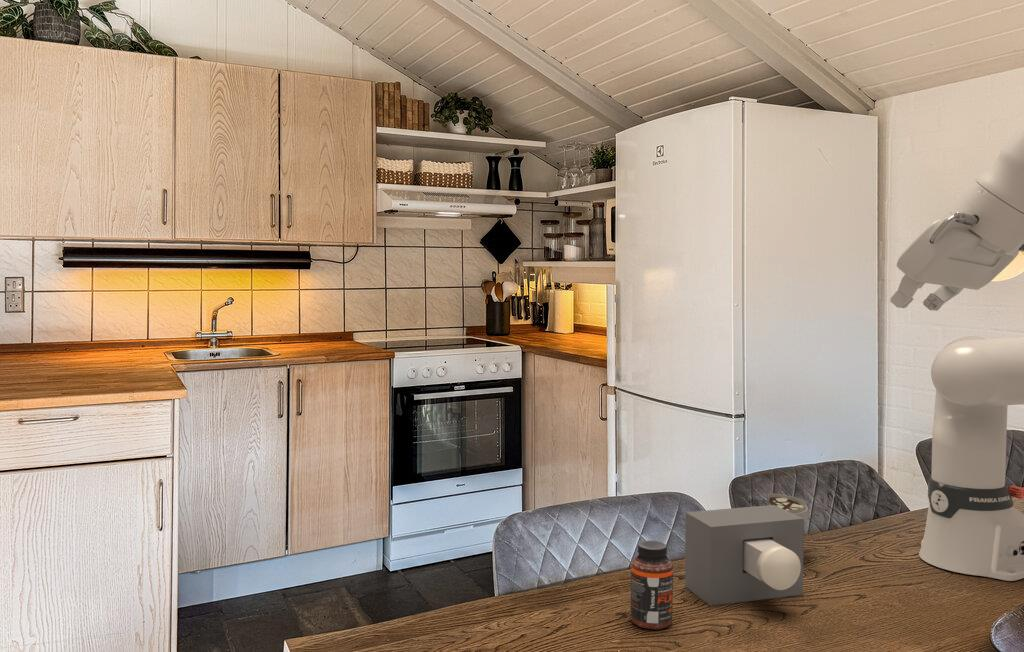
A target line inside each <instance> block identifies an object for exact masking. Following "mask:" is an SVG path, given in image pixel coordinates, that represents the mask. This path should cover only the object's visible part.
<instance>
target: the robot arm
mask: <svg viewBox="0 0 1024 652" xmlns="http://www.w3.org/2000/svg"><path fill="white" fill-rule="evenodd" d="M949 213H950V215H951V216H949V217H946V218H939V219H936V220H935V221H933V222H932V223H931V224H930V225H928V226H927V227H926V228H925V229H924V230H923V231H922V232H921V233H920V234H919V235H918V236H916V238H915V239H914V241H912V242H911V243H910V244H909V246H907V248H906V249H905V250H904V251H903V252H902V253H901V255H899V257H898V259H897V262H896V267H897V269H898V270H899V271H901V272H902V273H903V274H904V275H903V276H902V277H901V280H900V283H899V286H898V288H897V289H896V291H895V292H894V294H892V295H891V297H890V299H889V300H890V303H891V304H893V305H894V306H895V307H896V308H898V309H905V308H908V306H909V305H910V304H911V303H912V301H914V295H916V293H917V291H918V290H919V289H922V287H923V286H924V285H925V284H929V285H930V284H931V285H937V286H940V287H938V288H937V289H936V290H935V291H934V292H933V293H929V295H928V296H926V298H925V299H924V300H923V302H922V304H923V306H924V307H925V308H927V309H928V310H930V311H935V312H936V311H937V312H938V311H939V310H940V309H941V308H942V307H943V306H944V305H945V304H946V303H947V302H949V301H950V300H952V299H953V298H954V297H956V296H957V295H959V294H960V293H961V292H962V291H963V290H964V289H967V290H976V291H977V290H980V289H981V288H983V287H985V286H987V285H988V284H989V283H991V282H992V281H993V280H994V279H995V278H996V277H997V276H998V275H1000V274H1001V272H1003V271H1004V270H1005V269H1006V268H1007V267H1008V266H1009V265H1010V264H1011V263H1012V262H1013V261H1014V260H1015V258H1017V256H1018V255H1019V252H1021V253H1024V125H1023V126H1021V128H1019V130H1018V131H1017V132H1016V133H1015V134H1014V135H1013V136H1012V138H1011V139H1010V140H1009V141H1008V142H1007V143H1006V145H1005V146H1004V147H1003V148H1002V150H1001V151H1000V153H999V155H998V157H997V159H996V161H995V162H994V164H993V165H992V166H991V167H990V168H989V169H988V170H987V171H985V172H983V173H982V174H981V175H979V176H978V177H977V178H976V179H975V180H974V181H973V183H972V184H971V185H970V186H969V187H968V188H967V190H965V192H964V193H963V194H962V195H961V197H960V198H959V199H958V200H957V201H956V202H955V204H954V205H953V206H952V207H951V208H950V209H949ZM930 375H931V381H932V384H933V386H934V388H935V400H934V402H935V403H934V413H933V414H934V416H933V425H932V433H931V434H932V436H931V437H932V438H931V476H930V477H929V478H928V482H927V483H928V484H927V498H928V502H929V505H928V509H927V516H926V523H925V528H924V534H923V539H922V540H921V542H920V546H921V547H920V550H919V553H918V557H919V558H920V559H921V560H923V561H924V562H926V563H927V564H930V566H931V565H932V566H935V567H937V568H939V569H943V570H947V571H950V572H953V573H960V574H963V575H970V576H980V577H985V578H986V577H987V578H992V579H996V580H997V579H998V580H1001V581H1006V582H1007V581H1008V582H1013V581H1018V580H1021V579H1024V514H1023V512H1021V511H1020V510H1018V509H1017V508H1016V507H1015V506H1014V501H1013V497H1014V498H1016V499H1018V500H1024V487H1022V486H1021V487H1020V486H1017V485H1015V484H1014V485H1010V486H1008V485H1007V484H1006V464H1007V430H1008V429H1007V428H1008V427H1007V426H1008V406H1018V405H1019V406H1020V405H1024V336H1016V337H1015V336H1014V337H1002V338H1001V337H999V338H985V337H982V336H976V335H975V336H972V335H971V336H963V337H960V338H957V339H954V340H953V341H951V342H950V343H948V344H946V345H945V346H944V347H943V348H941V350H940V351H939V352H937V354H936V356H935V358H934V359H933V361H932V365H931V369H930Z"/></svg>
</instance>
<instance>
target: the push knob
mask: <svg viewBox="0 0 1024 652" xmlns="http://www.w3.org/2000/svg"><path fill="white" fill-rule="evenodd" d="M743 570H745V571H746V572H748V573H749V574H751V575H752V576H754V577H756V578H757V579H759V580H760V581H763V582H764V583H766V584H767V585H769V586H770V587H772V588H774V589H776V590H785V589H788V588H790V587H791V586H792V585H793V584H794V583H795V582H796V581H797V579H798V577H799V575H800V571H801V564H800V560H799V558H798V556H797V555H796V554H795V553H794V552H793V551H791V550H789V549H787V548H785V547H784V546H782V545H780V544H778V543H776V542H774V541H772V540H770V539H769V538H767V537H766V538H756V539H746V540H743Z"/></svg>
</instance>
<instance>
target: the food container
mask: <svg viewBox="0 0 1024 652" xmlns="http://www.w3.org/2000/svg"><path fill="white" fill-rule="evenodd" d="M767 496H768V497H767V504H768V505H775V506H777V507H780V508H782V509H784V510H786V511H788V512H791V513H793V514H795V515H797V516H799V517H801V518H804V527H805V526H806V525H805V524H806V521H807V520H808V519H809V518H810V513H809V509H808V506H807V503H806V501H804V500H803V499H800V498H798V497H795V496H792V495H786V494H782V493H781V494H780V493H768V495H767Z"/></svg>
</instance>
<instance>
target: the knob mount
mask: <svg viewBox="0 0 1024 652" xmlns="http://www.w3.org/2000/svg"><path fill="white" fill-rule="evenodd" d="M804 536H805V526H804V518H801V517H799V516H797V515H795V514H793V513H791V512H788V511H786V510H784V509H782V508H780V507H777V506H775V505H759V506H758V505H757V506H756V505H755V506H744V507H734V508H733V507H731V508H719V509H710V510H698V511H697V510H696V511H695V510H694V511H686V512H685V535H684V537H685V544H684V545H685V546H684V547H685V549H684V550H685V551H684V552H685V555H684V556H685V557H684V559H685V562H684V564H685V565H684V587H685V588H687V589H688V590H690V592H692V594H694V595H696V596H697V597H698V598H700V599H701V600H702V601H703V602H705V603H706V604H707V605H708V606H712V607H713V606H719V605H728V604H737V603H745V602H751V601H752V602H753V601H754V602H755V601H761V600H770V599H778V598H787V597H796V596H803V594H804V593H803V592H804V548H805V546H804V541H805V540H804V539H805V538H804ZM766 537H767V538H769V539H770V540H772V541H774V542H776V543H778V544H780V545H782V546H784V547H785V548H787V549H789V550H791V551H793V552H794V553H795V554H796V555H797V556H798V558H799V560H800V564H801V571H800V575H799V577H798V579H797V581H796V582H795V583H794V584H793V585H792V586H791V587H790V588H788V589H785V590H776V589H774V588H772V587H770V586H769V585H767V584H766V583H764V582H763V581H760V580H759V579H757V578H756V577H754V576H752V575H751V574H749V573H748V572H746V571H745V570H743V540H746V539H756V538H766Z"/></svg>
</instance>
